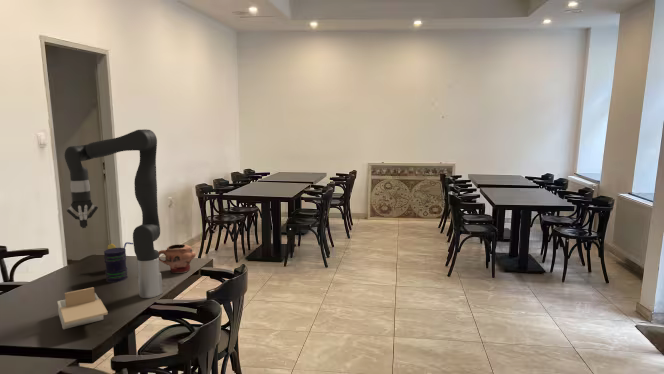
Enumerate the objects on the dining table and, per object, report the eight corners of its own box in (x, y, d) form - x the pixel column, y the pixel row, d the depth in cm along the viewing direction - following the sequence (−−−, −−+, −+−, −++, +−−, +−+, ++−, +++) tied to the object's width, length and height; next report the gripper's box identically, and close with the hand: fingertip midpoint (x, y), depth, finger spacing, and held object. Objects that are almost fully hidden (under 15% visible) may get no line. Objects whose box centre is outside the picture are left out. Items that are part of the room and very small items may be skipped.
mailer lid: (100, 300, 177) (99, 285, 176) (107, 314, 165) (106, 298, 164) (60, 309, 169) (58, 294, 168) (64, 324, 156) (63, 307, 155)
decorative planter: (155, 276, 224) (153, 250, 222) (159, 269, 235) (157, 244, 233) (195, 273, 228) (194, 247, 226) (197, 266, 240) (196, 241, 238)
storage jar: (105, 283, 214) (102, 254, 212) (107, 277, 223) (104, 248, 221) (127, 280, 218) (125, 251, 216) (128, 274, 227) (126, 246, 225)
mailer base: (96, 306, 187) (95, 293, 186) (103, 319, 174) (102, 305, 173) (58, 315, 179) (57, 301, 178) (63, 329, 166) (61, 314, 165)
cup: (137, 266, 240) (135, 240, 238) (132, 271, 232) (130, 243, 230) (110, 267, 239) (108, 240, 237) (104, 271, 231) (102, 244, 229)
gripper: (64, 192, 189) (68, 231, 191) (98, 189, 197) (101, 227, 199) (62, 190, 195) (66, 228, 197) (95, 187, 203) (98, 224, 205)
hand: (83, 227), depth 198 cm, fingers closed
